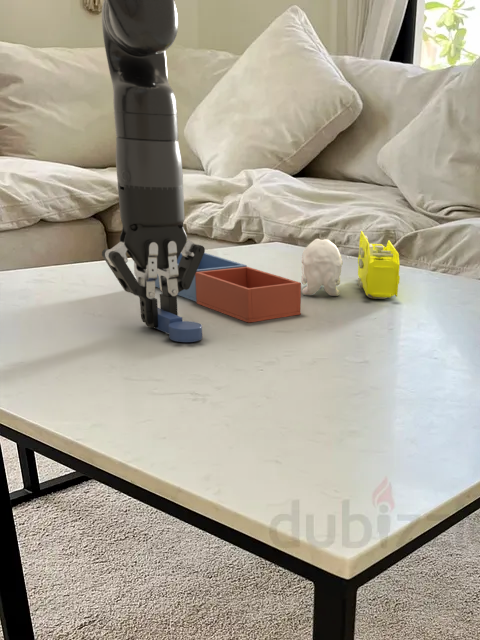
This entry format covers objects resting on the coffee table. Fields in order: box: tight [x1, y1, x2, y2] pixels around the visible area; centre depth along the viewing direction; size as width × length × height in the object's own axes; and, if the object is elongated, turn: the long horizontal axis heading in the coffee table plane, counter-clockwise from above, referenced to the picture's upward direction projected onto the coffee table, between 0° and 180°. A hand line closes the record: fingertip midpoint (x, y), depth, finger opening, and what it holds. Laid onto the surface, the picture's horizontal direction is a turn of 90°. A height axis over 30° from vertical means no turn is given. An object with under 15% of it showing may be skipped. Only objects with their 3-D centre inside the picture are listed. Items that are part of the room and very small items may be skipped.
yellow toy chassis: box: [357, 230, 401, 300], centre depth 128 cm, size 16×6×8 cm, turn 6°
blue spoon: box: [155, 307, 203, 343], centre depth 99 cm, size 4×10×2 cm, turn 45°
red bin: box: [195, 266, 302, 324], centre depth 112 cm, size 9×13×4 cm
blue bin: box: [155, 252, 248, 303], centre depth 121 cm, size 9×13×4 cm
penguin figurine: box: [301, 238, 344, 297], centre depth 125 cm, size 6×8×12 cm
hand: (159, 324), depth 101 cm, fingers closed on blue spoon, 2 cm apart
